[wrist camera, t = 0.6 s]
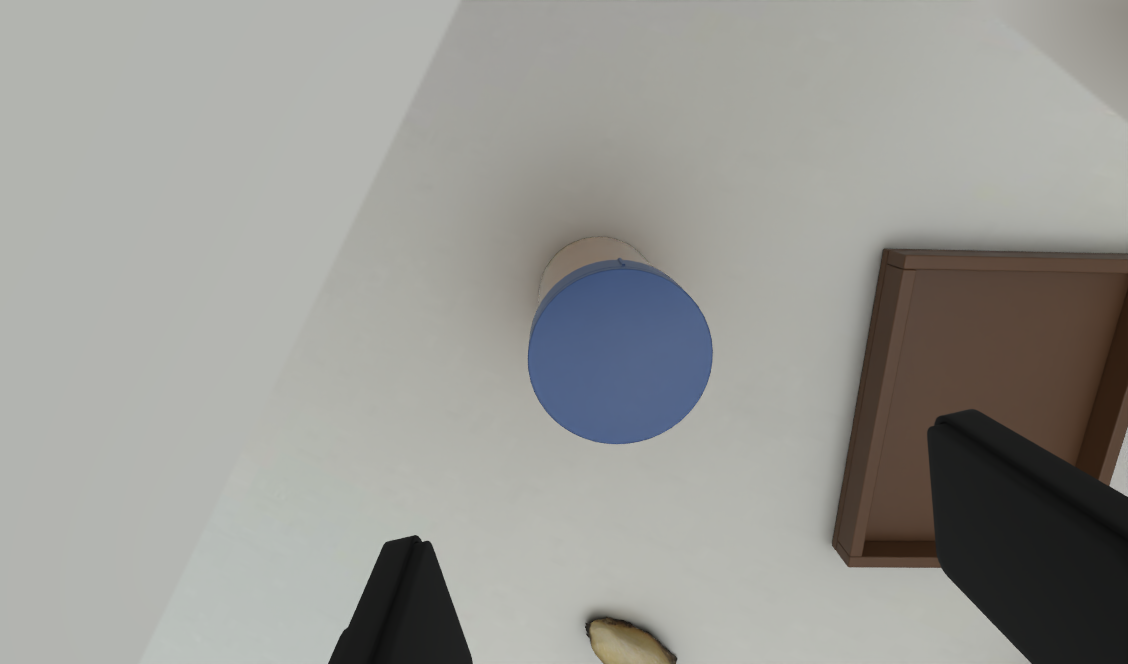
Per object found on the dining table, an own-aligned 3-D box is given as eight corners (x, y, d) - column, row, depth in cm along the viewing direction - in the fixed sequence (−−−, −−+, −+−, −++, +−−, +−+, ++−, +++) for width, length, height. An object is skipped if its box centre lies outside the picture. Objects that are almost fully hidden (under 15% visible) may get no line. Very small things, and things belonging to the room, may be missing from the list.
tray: (883, 248, 30) (905, 254, 28) (1141, 254, 30) (1181, 260, 29) (831, 545, 35) (847, 567, 33) (1054, 546, 35) (1083, 569, 33)
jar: (539, 235, 30) (535, 270, 20) (660, 237, 30) (710, 274, 20) (538, 350, 31) (533, 432, 22) (652, 352, 31) (695, 433, 22)
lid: (530, 255, 22) (528, 264, 20) (707, 258, 22) (721, 268, 20) (528, 421, 23) (527, 443, 22) (692, 423, 24) (704, 445, 22)
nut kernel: (578, 616, 36) (585, 665, 33) (658, 595, 35) (670, 643, 33) (604, 673, 39) (611, 722, 36) (677, 655, 39) (689, 703, 36)
